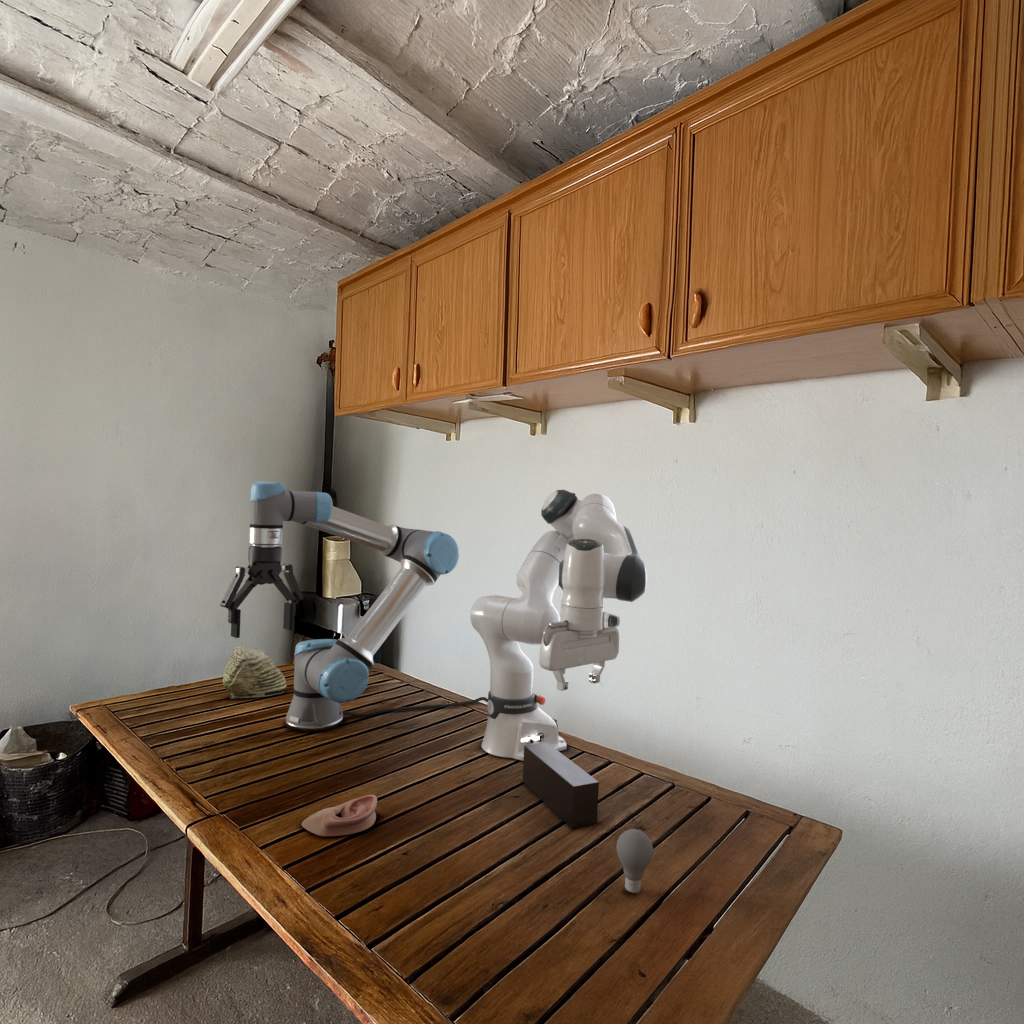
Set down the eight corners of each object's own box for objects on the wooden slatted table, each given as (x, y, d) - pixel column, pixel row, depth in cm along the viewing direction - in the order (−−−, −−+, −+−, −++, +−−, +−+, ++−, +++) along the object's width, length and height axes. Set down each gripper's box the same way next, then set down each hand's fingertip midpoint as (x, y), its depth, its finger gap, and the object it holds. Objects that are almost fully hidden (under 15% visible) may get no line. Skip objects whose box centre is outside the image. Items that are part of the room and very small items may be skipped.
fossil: (218, 695, 195) (220, 647, 195) (278, 685, 208) (279, 640, 207) (228, 703, 189) (230, 653, 188) (289, 692, 201) (290, 645, 201)
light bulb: (610, 879, 108) (613, 822, 108) (644, 879, 109) (647, 822, 109) (619, 902, 102) (622, 840, 102) (655, 901, 103) (658, 840, 103)
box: (522, 781, 145) (524, 745, 145) (545, 778, 148) (546, 742, 148) (571, 828, 125) (573, 786, 125) (597, 823, 128) (599, 781, 128)
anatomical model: (293, 811, 119) (323, 784, 130) (292, 831, 119) (323, 803, 130) (359, 821, 116) (384, 793, 128) (358, 842, 116) (383, 813, 128)
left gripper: (222, 548, 141) (219, 643, 141) (319, 545, 160) (316, 628, 161) (206, 545, 145) (203, 637, 146) (302, 543, 165) (299, 624, 165)
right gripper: (555, 626, 121) (552, 698, 121) (625, 617, 134) (622, 682, 134) (533, 620, 126) (530, 690, 126) (603, 612, 139) (600, 675, 139)
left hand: (262, 633), depth 153 cm, fingers open, 13 cm apart
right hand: (578, 686), depth 130 cm, fingers open, 8 cm apart
